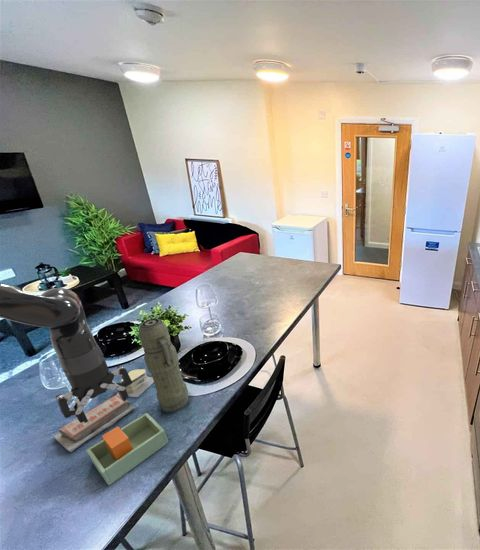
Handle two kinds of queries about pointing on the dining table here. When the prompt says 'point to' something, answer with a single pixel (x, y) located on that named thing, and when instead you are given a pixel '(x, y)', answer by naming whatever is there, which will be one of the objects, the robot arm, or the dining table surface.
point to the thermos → (163, 365)
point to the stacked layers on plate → (138, 382)
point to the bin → (144, 441)
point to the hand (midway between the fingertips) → (105, 409)
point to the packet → (117, 443)
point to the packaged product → (93, 422)
